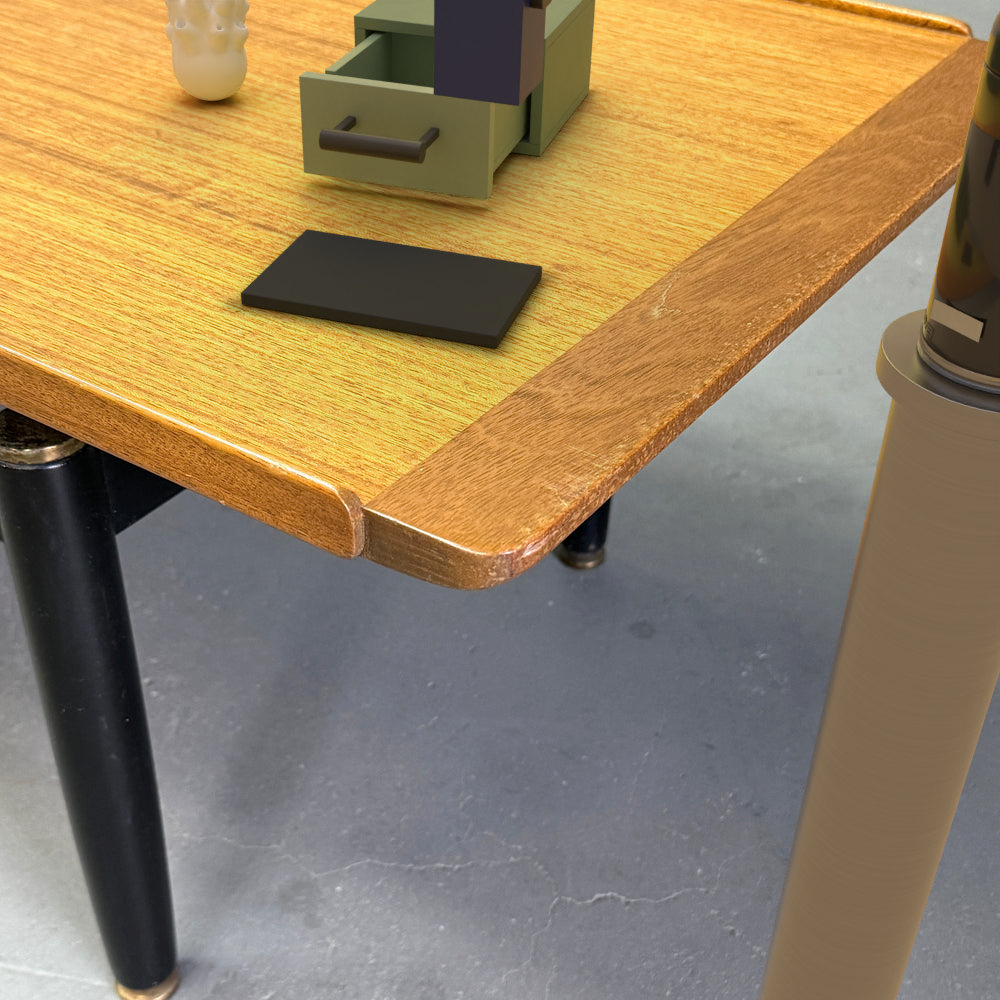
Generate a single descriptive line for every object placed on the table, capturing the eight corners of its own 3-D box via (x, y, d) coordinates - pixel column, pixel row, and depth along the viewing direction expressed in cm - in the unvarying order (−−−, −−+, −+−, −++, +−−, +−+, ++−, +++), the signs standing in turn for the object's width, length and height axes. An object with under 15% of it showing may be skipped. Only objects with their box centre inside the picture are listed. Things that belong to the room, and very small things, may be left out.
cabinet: (539, 156, 105) (546, 38, 100) (356, 131, 108) (353, 15, 103) (589, 92, 117) (596, -15, 112) (423, 71, 121) (423, -34, 116)
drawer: (466, 226, 91) (468, 124, 88) (275, 197, 94) (269, 97, 90) (543, 130, 107) (547, 40, 103) (376, 108, 110) (375, 19, 106)
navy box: (542, 79, 77) (551, -92, 72) (518, 106, 74) (526, -73, 69) (460, 69, 78) (463, -101, 73) (433, 95, 75) (434, -83, 70)
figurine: (172, 84, 116) (156, -68, 109) (253, 82, 117) (243, -69, 110) (171, 113, 110) (155, -46, 103) (257, 110, 111) (246, -47, 104)
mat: (541, 277, 88) (542, 265, 87) (496, 348, 80) (497, 336, 79) (307, 240, 91) (306, 228, 91) (241, 305, 83) (240, 292, 83)
